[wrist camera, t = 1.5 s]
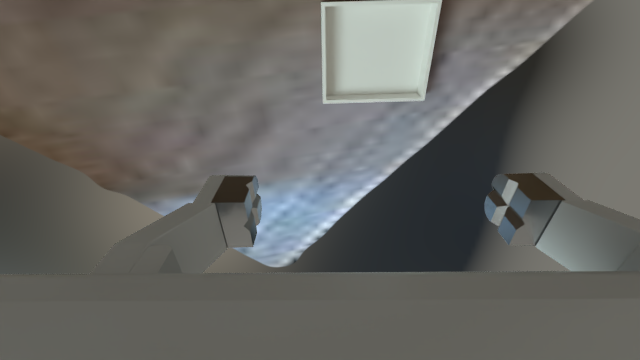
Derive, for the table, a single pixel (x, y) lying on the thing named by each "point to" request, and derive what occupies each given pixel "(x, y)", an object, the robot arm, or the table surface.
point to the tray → (377, 49)
